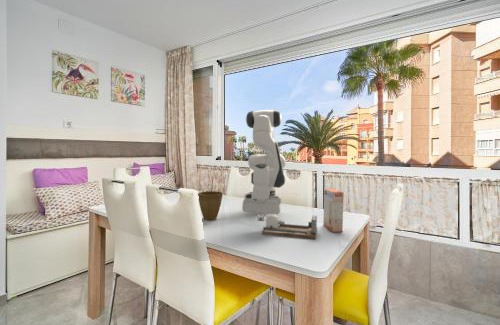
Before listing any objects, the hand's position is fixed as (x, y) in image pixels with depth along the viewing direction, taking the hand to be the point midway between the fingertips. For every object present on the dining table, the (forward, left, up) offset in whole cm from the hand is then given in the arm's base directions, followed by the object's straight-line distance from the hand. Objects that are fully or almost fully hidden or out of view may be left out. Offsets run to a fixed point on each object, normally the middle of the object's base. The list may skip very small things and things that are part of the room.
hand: (261, 220), depth 145 cm
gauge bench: (0, +15, -5) cm, 16 cm away
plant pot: (-12, -35, -5) cm, 37 cm away
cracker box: (-14, +36, -5) cm, 39 cm away
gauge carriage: (+1, +8, -2) cm, 8 cm away
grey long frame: (0, +15, -3) cm, 16 cm away
